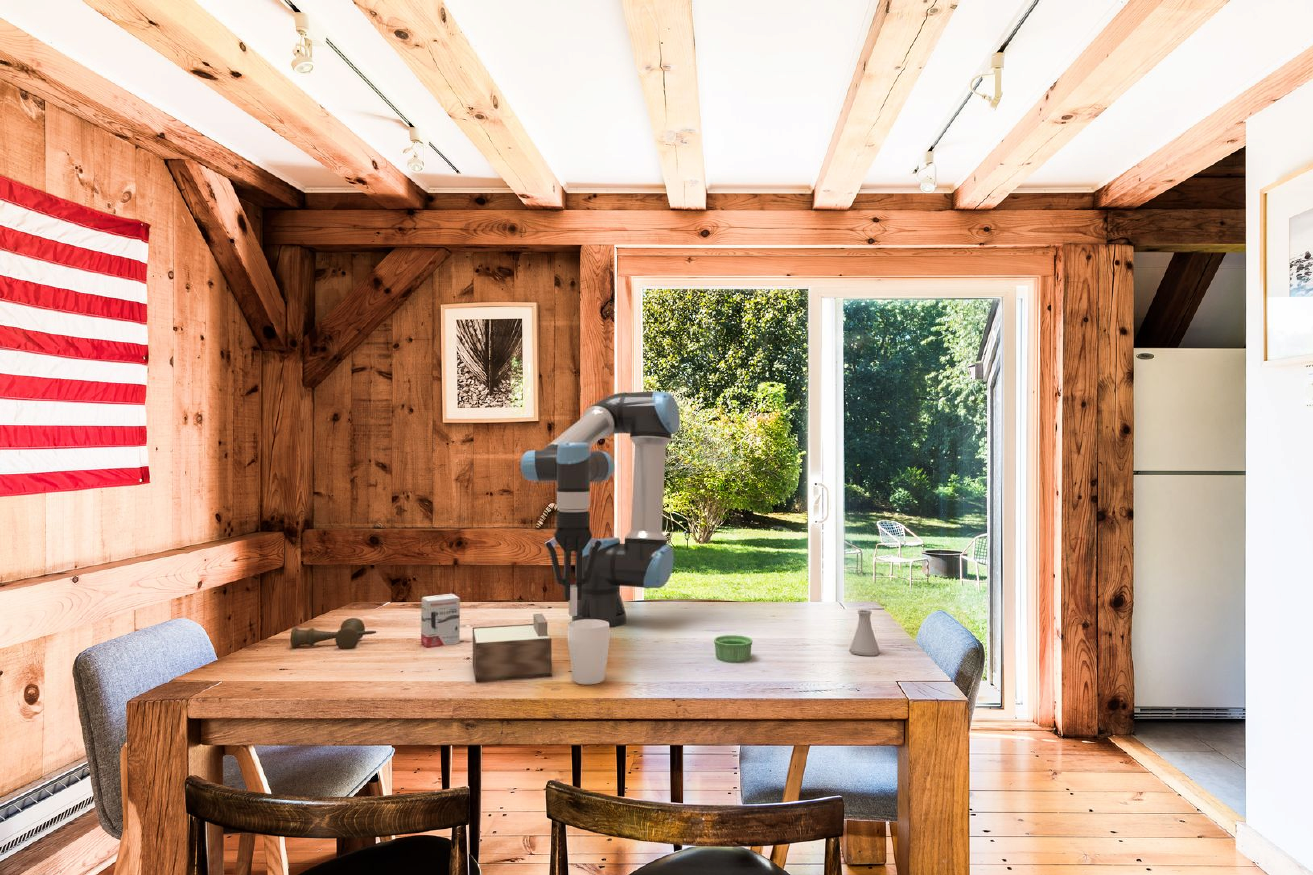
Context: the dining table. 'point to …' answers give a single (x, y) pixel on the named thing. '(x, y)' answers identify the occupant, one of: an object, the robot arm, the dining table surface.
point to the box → (512, 658)
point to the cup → (588, 650)
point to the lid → (514, 631)
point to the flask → (864, 637)
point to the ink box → (440, 620)
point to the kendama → (332, 635)
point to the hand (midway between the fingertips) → (572, 614)
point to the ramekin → (733, 648)
